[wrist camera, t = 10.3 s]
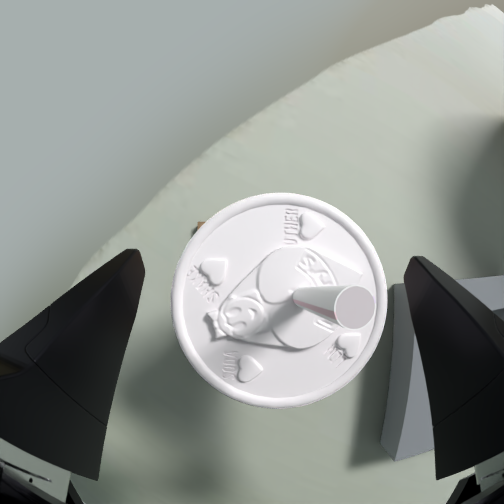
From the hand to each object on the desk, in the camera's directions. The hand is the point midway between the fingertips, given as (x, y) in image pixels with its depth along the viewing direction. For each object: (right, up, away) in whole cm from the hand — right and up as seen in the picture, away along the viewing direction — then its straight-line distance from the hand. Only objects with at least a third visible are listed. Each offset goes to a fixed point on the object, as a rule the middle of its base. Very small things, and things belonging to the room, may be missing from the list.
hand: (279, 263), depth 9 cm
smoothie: (0, -2, +9) cm, 9 cm away
